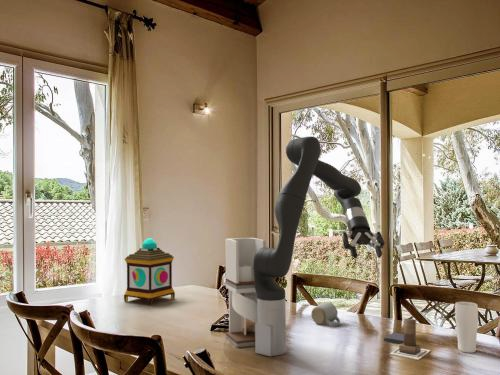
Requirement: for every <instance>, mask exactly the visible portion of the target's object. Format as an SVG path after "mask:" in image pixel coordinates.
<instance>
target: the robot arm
mask: <svg viewBox="0 0 500 375" xmlns="http://www.w3.org/2000/svg"><path fill="white" fill-rule="evenodd" d="M320 143H321V142H320V141H319V138H317V137H315V136H305V137H298V138H293V139H291V140H289V141H288V142H287V144H286V147H285V154H286V157H287V159H288V160H289V161H290V162H291V163H292V164H294V165H296V166H297V168H296V169H295V171H294V172H293V174H292V176H290V177H289V178H288V180H287V181H286V182H285V183H284V184H283V186H282V187H281V189H280V191H279V192H278V195H277V197H276V198H277V199H276V202H275V206H274V215H275V219H276V222H277V225H278V229H279V238H278V243H277V245H276V247H263V248H259V249H258V250H257V251H256V253H255V256H254V264H253V267H254V284H255V290H256V293H257V323H256V324H255V345H254V346H255V347H254V348H255V350H254V351H255V352H254V353H256V354H258V355H263V356H268V357H273V356H274V357H275V356H281V355H283V354H285V353H286V351H287V348H286V347H287V345H286V344H287V343H286V342H287V340H286V336H287V332H286V330H287V329H286V328H287V327H286V323H287V322H286V317H287V316H286V290H285V288H284V287H283V286H281V285H279V284H278V282H276V281H275V279H274V278H280V279H282V278H285V277H286V276H287V274H288V272H289V271H290V267H291V265H292V258H293V254H294V247H295V243H296V242H295V241H296V238H297V237H296V236H297V233H298V232H297V231H298V228H299V224H300V220H301V216H302V213H303V210H304V207H305V202H306V198H307V194H308V191H309V189H310V184H311V181H312V177H313V176H315V177H316V178H318V179H319V180H320V181H322V182H323V183H324V184H325V185H326V186H327V187H329V189H331V190H332V191H333V195H334V198H335V199H336V200H337V201H338V203H339V204H340V205H341V207H342V209H343V213H344V216H345V221H346V225H347V228H348V233H347V232H346V231H344V232H342V233H343V234H342V236H341V238H342V244H343V248H344V250H349V251H350V253H351V257H353V258H354V259H357V258H358V252H357V248H356V246H357V245H358V246H369V247H371V248H374V250H375V253H376V256H377V258H378V259H381V257H382V255H383V251H382V249H384V247H385V245H386V243H385V240H384V238H383V235H382V234H381V231H377V232H376V233H373V232H372V231H371V227H370V224H369V220H368V218H367V215H366V213H365V211H364V209H363V204H362V202H361V200H360V199H359V198H357V196H359V195H360V194H361V192H362V185H361V184H360V183H359V182H358V181H357V180H356V179H354V178H353V177H350V176H347V175H345V174H344V173H342V172H341V171H340V170H338V169H337V168H336V167H335V166H334V165H331V164H330V163H327V162H326V161H322V160H320V156H321V144H320ZM349 239H350V240H352V242H351V243H350V242H349Z"/></svg>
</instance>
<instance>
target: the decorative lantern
mask: <svg viewBox="0 0 500 375" xmlns="http://www.w3.org/2000/svg"><path fill="white" fill-rule="evenodd" d="M157 245H158V244H157V242H156V240H154V239H153V238H151V237H150V238H146V239H145V240H144V241H143V242H142V245H141V247H140V248H138V250H137V251H135V252H133V253H131V254H129V255H127V256H126V257H125V258H124V261H125V263H126V275H127V276H126V290H125V293H124V295H123V300H124V302H126V303H127V302H129V301H128V300H129V298H134V299H142V300H147V301H148V305H149V306H152V305H153V300H154V299H158V298H162V297H167V296H170V298H171V300H174V299H175V297H176V293H175V291H174V288H173V283H172V282H173V280H172V279H173V272H172V270H173V269H172V268H173V261H174V258H175V257H174V256H173V255H172V254H170V252H165V251H163V250H162V249H161V248H160V247H157Z"/></svg>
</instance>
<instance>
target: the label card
mask: <svg viewBox="0 0 500 375" xmlns="http://www.w3.org/2000/svg"><path fill="white" fill-rule="evenodd" d="M431 351H432V350H431V349H427V348H426V349H425V348H421V351H420V352H419V353H418V354H416V355H411V354H406V353H401V352H399V347H397V348H396V349H395V350H393V351H391V352H390V353H389V355H390V356H395V357H400V358H406V359H411V360H415V361H419V360H421V359H422V358H423V357H425V356H426V355H427V354H429V353H430V352H431Z"/></svg>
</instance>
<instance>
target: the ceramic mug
mask: <svg viewBox="0 0 500 375" xmlns="http://www.w3.org/2000/svg"><path fill="white" fill-rule="evenodd" d="M311 319H312V321H313V322H314V323H315V324H318V325H325V324H327V325H329V326H332V327H338V326H340V323H341V319H340V317H338V309H337V307H336V306H335V305H334V303H332V302H330V301H325V302H323V303H321V304H318V305H316V306H314V307H313V308H312V310H311ZM334 321H336V322H334Z"/></svg>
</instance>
